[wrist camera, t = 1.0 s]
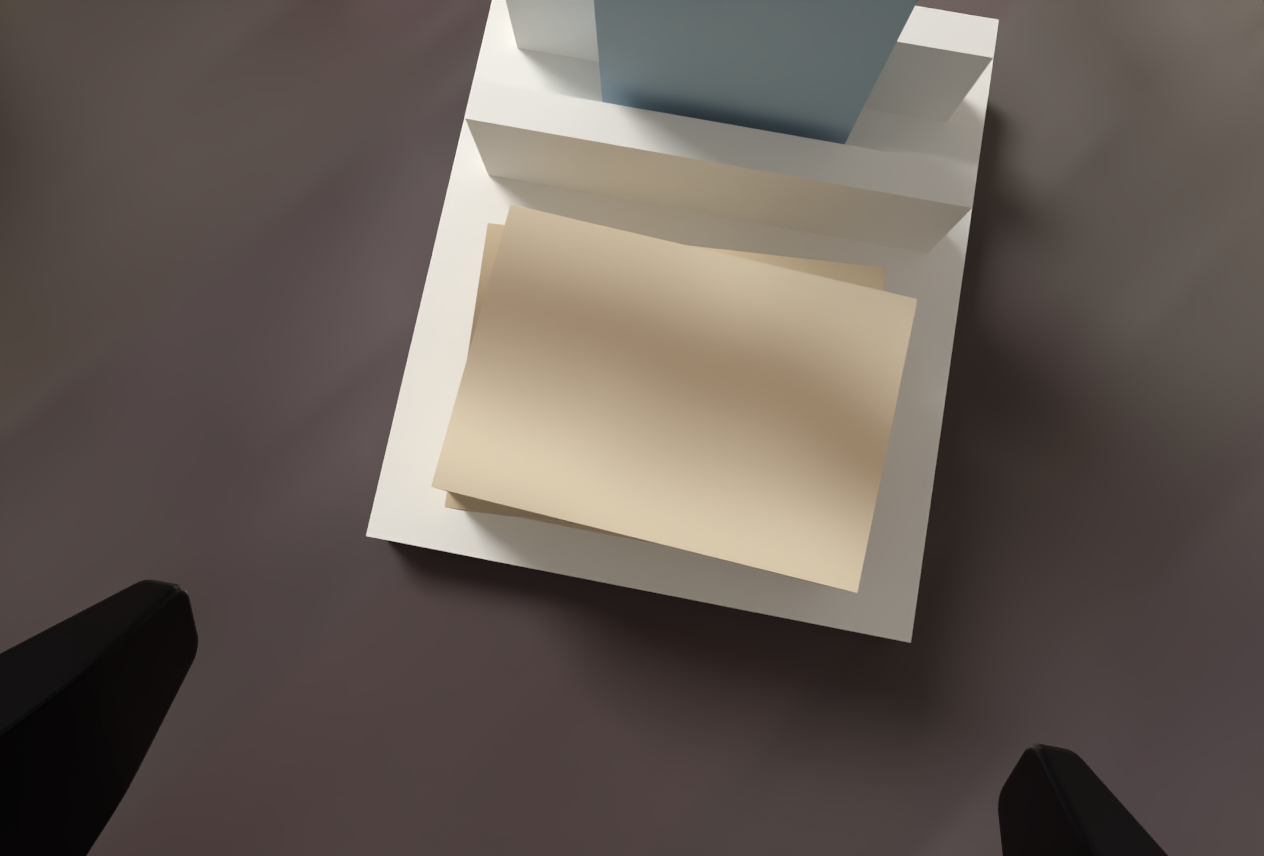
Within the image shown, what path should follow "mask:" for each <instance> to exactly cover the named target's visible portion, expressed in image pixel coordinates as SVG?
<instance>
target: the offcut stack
mask: <svg viewBox="0 0 1264 856" xmlns="http://www.w3.org/2000/svg"><path fill="white" fill-rule="evenodd" d="M885 269H886V268H884V267H875V266H867V265H858V264H849V263H840V262H831V261H822V260H813V259H804V258H795V257H786V256H777V255H768V254H759V253H750V252H742V251H733V250H724V249H715V248H706V247H697V246H688V245H683V244H679V243H675V242H670V241H666V240H662V239H657V238H653V237H649V236H645V235H640V234H636V233H632V232H627V231H623V230H619V229H615V228H610V227H606V226H602V225H597V224H593V223H589V222H584V221H580V220H576V219H572V218H567V217H563V216H559V215H554V214H550V213H546V212H541V211H537V210H533V209H529V208H524V207H520V206H516V205H510V208H509V212H508V215H507V219H506V222H505V225H500V224H492V223H488V225H487V232H486V238H485V245H484V251H483V258H482V264H481V271H480V278H479V284H478V291H477V297H476V304H475V310H474V317H473V324H472V330H471V337H470V343H469V350H468V356H467V361H466V365H465V368H464V372H463V375H462V379H461V382H460V386H459V389H458V393H457V397H456V400H455V404H454V407H453V411H452V414H451V418H450V421H449V425H448V429H447V432H446V436H445V439H444V443H443V446H442V450H441V454H440V457H439V461H438V464H437V468H436V471H435V475H434V478H433V482H432V486H431V487H434V488H437V489H441V490H444V491H447V494H446V501H445V507H446V508H451V509H456V510H462V511H470V512H478V513H487V514H495V515H503V516H511V517H520V518H525V519H530V520H535V521H540V522H546V523H551V524H556V525H561V526H566V527H571V528H576V529H582V530H587V531H592V532H597V533H602V534H607V535H613V536H618V537H623V538H628V539H633V540H638V541H644V542H649V543H654V544H659V545H664V546H668V547H672V548H676V549H680V550H684V551H688V552H692V553H696V554H700V555H704V556H708V557H712V558H716V559H720V560H724V561H728V562H732V563H736V564H740V565H744V566H748V567H752V568H756V569H760V570H764V571H768V572H772V573H776V574H780V575H784V576H788V577H792V578H796V579H800V580H804V581H808V582H812V583H817V584H821V585H825V586H829V587H833V588H837V589H841V590H846V591H850V592H855V593H857V592H858V587H859V582H860V577H861V572H862V568H863V563H864V558H865V553H866V548H867V543H868V538H869V533H870V529H871V524H872V519H873V514H874V509H875V504H876V499H877V495H878V490H879V485H880V480H881V475H882V470H883V465H884V460H885V456H886V451H887V446H888V441H889V436H890V431H891V426H892V421H893V417H894V412H895V407H896V402H897V397H898V392H899V387H900V383H901V378H902V373H903V368H904V363H905V358H906V353H907V348H908V344H909V339H910V334H911V329H912V324H913V319H914V314H915V309H916V305H917V300H918V299H915V298H911V297H907V296H902V295H898V294H894V293H890V292H885V291H884V282H885Z"/></svg>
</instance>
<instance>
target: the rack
mask: <svg viewBox="0 0 1264 856" xmlns="http://www.w3.org/2000/svg"><path fill="white" fill-rule="evenodd" d="M998 21H999V20H997V19H991V18H985V17H979V16H973V15H967V14H961V13H955V12H949V11H943V10H937V9H931V8H925V7H920V6H915V7H914V9H913V11H912V13H911V15H910V16H909V18H908V20H907V22H906V24H905V26H904V28H903V30H902V32H901V34H900V36H899V38H898V40H897V42H896V44H895V46H894V48H893V50H892V52H891V54H890V56H889V58H888V60H887V62H886V64H885V66H884V68H883V70H882V72H881V74H880V76H879V78H878V80H877V81H876V83H875V85H874V87H873V89H872V91H871V93H870V95H869V97H868V99H867V101H866V103H865V105H864V107H863V109H862V111H861V113H860V115H859V117H858V119H857V121H856V123H855V125H854V127H853V129H852V131H851V133H850V135H849V137H848V139H847V141H846V143H845V144H839V143H834V142H828V141H822V140H816V139H811V138H805V137H799V136H794V135H788V134H782V133H776V132H771V131H765V130H759V129H753V128H748V127H742V126H736V125H731V124H725V123H719V122H713V121H708V120H702V119H696V118H690V117H685V116H679V115H673V114H668V113H662V112H656V111H650V110H645V109H639V108H633V107H627V106H622V105H616V104H610V103H605V102H602V91H601V80H600V68H599V56H598V44H597V32H596V21H595V9H594V0H492V3H491V7H490V11H489V16H488V20H487V24H486V28H485V33H484V37H483V41H482V45H481V50H480V54H479V58H478V62H477V67H476V71H475V75H474V79H473V84H472V88H471V92H470V96H469V101H468V105H467V109H466V113H465V118H464V122H463V126H462V130H461V135H460V139H459V143H458V147H457V152H456V156H455V160H454V164H453V168H452V173H451V177H450V181H449V185H448V190H447V194H446V198H445V202H444V207H443V211H442V215H441V219H440V224H439V228H438V232H437V236H436V241H435V245H434V249H433V253H432V258H431V262H430V266H429V270H428V275H427V279H426V283H425V287H424V292H423V296H422V300H421V304H420V309H419V313H418V317H417V321H416V326H415V330H414V334H413V338H412V343H411V347H410V351H409V355H408V360H407V364H406V368H405V372H404V377H403V381H402V385H401V389H400V394H399V398H398V402H397V406H396V411H395V415H394V419H393V423H392V428H391V432H390V436H389V440H388V445H387V449H386V453H385V457H384V462H383V466H382V470H381V474H380V479H379V483H378V487H377V491H376V495H375V500H374V504H373V508H372V512H371V517H370V521H369V525H368V529H367V534H366V536H369V537H374V538H379V539H384V540H389V541H394V542H399V543H404V544H409V545H415V546H420V547H425V548H430V549H435V550H440V551H445V552H450V553H455V554H460V555H466V556H471V557H476V558H481V559H486V560H491V561H496V562H501V563H506V564H511V565H517V566H522V567H527V568H532V569H537V570H542V571H547V572H552V573H557V574H562V575H567V576H573V577H578V578H583V579H588V580H593V581H598V582H603V583H608V584H613V585H618V586H624V587H629V588H634V589H639V590H644V591H649V592H654V593H659V594H664V595H669V596H675V597H680V598H685V599H690V600H695V601H700V602H705V603H710V604H715V605H720V606H726V607H731V608H736V609H741V610H746V611H751V612H756V613H761V614H766V615H771V616H777V617H782V618H787V619H792V620H797V621H802V622H807V623H812V624H817V625H822V626H828V627H833V628H838V629H843V630H848V631H853V632H858V633H863V634H868V635H873V636H879V637H884V638H889V639H894V640H899V641H904V642H909V643H911V638H912V631H913V624H914V617H915V610H916V603H917V596H918V589H919V582H920V575H921V567H922V560H923V553H924V546H925V539H926V532H927V525H928V518H929V511H930V504H931V497H932V490H933V482H934V475H935V468H936V461H937V454H938V447H939V440H940V433H941V426H942V419H943V412H944V405H945V397H946V390H947V383H948V376H949V369H950V362H951V355H952V348H953V341H954V334H955V327H956V320H957V313H958V305H959V298H960V291H961V284H962V277H963V270H964V263H965V256H966V249H967V242H968V235H969V228H970V220H971V213H972V206H973V199H974V192H975V185H976V178H977V171H978V164H979V157H980V150H981V143H982V135H983V128H984V121H985V114H986V107H987V100H988V93H989V86H990V79H991V72H992V65H993V57H994V50H995V43H996V36H997V29H998ZM510 205H516V206H520V207H524V208H529V209H533V210H537V211H541V212H546V213H550V214H554V215H559V216H563V217H567V218H572V219H576V220H580V221H584V222H589V223H593V224H597V225H602V226H606V227H610V228H615V229H619V230H623V231H627V232H632V233H636V234H640V235H645V236H649V237H653V238H657V239H662V240H666V241H670V242H675V243H679V244H683V245H688V246H697V247H706V248H715V249H724V250H733V251H742V252H750V253H759V254H768V255H777V256H786V257H795V258H804V259H813V260H822V261H831V262H840V263H849V264H858V265H867V266H875V267H884V268H886V269H885V282H884V291H885V292H890V293H894V294H898V295H902V296H907V297H911V298H915V299H918V300H917V305H916V309H915V314H914V319H913V324H912V329H911V334H910V339H909V344H908V348H907V353H906V358H905V363H904V368H903V373H902V378H901V383H900V387H899V392H898V397H897V402H896V407H895V412H894V417H893V421H892V426H891V431H890V436H889V441H888V446H887V451H886V456H885V460H884V465H883V470H882V475H881V480H880V485H879V490H878V495H877V499H876V504H875V509H874V514H873V519H872V524H871V529H870V533H869V538H868V543H867V548H866V553H865V558H864V563H863V568H862V572H861V577H860V582H859V587H858V592H857V593H855V592H850V591H846V590H841V589H837V588H833V587H829V586H825V585H821V584H817V583H812V582H808V581H804V580H800V579H796V578H792V577H788V576H784V575H780V574H776V573H772V572H768V571H764V570H760V569H756V568H752V567H748V566H744V565H740V564H736V563H732V562H728V561H724V560H720V559H716V558H712V557H708V556H704V555H700V554H696V553H692V552H688V551H684V550H680V549H676V548H672V547H668V546H664V545H659V544H654V543H649V542H644V541H638V540H633V539H628V538H623V537H618V536H613V535H607V534H602V533H597V532H592V531H587V530H582V529H576V528H571V527H566V526H561V525H556V524H551V523H546V522H540V521H535V520H530V519H525V518H520V517H511V516H503V515H495V514H487V513H478V512H470V511H462V510H456V509H451V508H446V507H445V501H446V494H447V491H444V490H441V489H437V488H434V487H431V486H432V482H433V478H434V475H435V471H436V468H437V464H438V461H439V457H440V454H441V450H442V446H443V443H444V439H445V436H446V432H447V429H448V425H449V421H450V418H451V414H452V411H453V407H454V404H455V400H456V397H457V393H458V389H459V386H460V382H461V379H462V375H463V372H464V368H465V365H466V361H467V356H468V350H469V343H470V337H471V330H472V324H473V317H474V310H475V304H476V297H477V291H478V284H479V278H480V271H481V264H482V258H483V251H484V245H485V238H486V232H487V225H488V223H492V224H500V225H505V222H506V219H507V215H508V212H509V208H510Z"/></svg>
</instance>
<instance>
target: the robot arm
mask: <svg viewBox="0 0 1264 856" xmlns="http://www.w3.org/2000/svg"><path fill="white" fill-rule="evenodd" d="M197 647H198V635H197V631H196V626H195V622H194V617H193V613H192V608H191V603H190V599H189V595H188V592H187V591H186V590H185V588H184V587H183V586H180V585H178V584H172V583H167V582H162V581H156V580H144V581H140V582H138V583H135V584H133V585H131V586H129V587H128V588H126V589H124V590H122V591H120V592H118V593H116V594H114V595H112V596H110V597H108V598H106V599H104V600H103V601H101V602H99V603H97V604H95V605H93V606H91V607H89V608H87V609H85V610H83V611H81V612H79V613H78V614H76V615H74V616H72V617H70V618H68V619H66V620H64V621H62V622H60V623H58V624H56V625H54V626H53V627H51V628H49V629H47V630H45V631H43V632H41V633H39V634H37V635H35V636H33V637H31V638H29V639H28V640H26V641H24V642H22V643H20V644H18V645H16V646H14V647H12V648H10V649H8V650H6V651H4V652H3V653H1V654H0V856H86V855H87V854H88V852H89V851H90V849H91V848H92V846H93V845H94V843H95V841H96V840H97V838H98V837H99V835H100V834H101V832H102V830H103V829H104V827H105V826H106V824H107V823H108V821H109V819H110V818H111V816H112V815H113V813H114V811H115V810H116V808H117V807H118V805H119V803H120V802H121V800H122V798H123V797H124V795H125V793H126V792H127V790H128V788H129V786H130V784H131V782H132V781H133V779H134V777H135V775H136V773H137V771H138V769H139V767H140V765H141V764H142V762H143V760H144V758H145V756H146V754H147V752H148V750H149V748H150V746H151V744H152V742H153V740H154V738H155V736H156V734H157V732H158V730H159V728H160V726H161V724H162V722H163V720H164V718H165V716H166V714H167V712H168V710H169V708H170V706H171V704H172V702H173V700H174V698H175V696H176V694H177V692H178V690H179V688H180V686H181V685H182V683H183V681H184V679H185V677H186V675H187V673H188V671H189V669H190V667H191V665H192V663H193V660H194V658H195V655H196V652H197ZM998 815H999V824H1000V833H1001V843H1002V852H1003V856H1168V855H1167V854H1166V853H1165V852H1164V851H1163V850H1162V848H1161V847H1160V846H1159V845H1158V844H1157V843H1156V842H1155V841H1154V839H1153V838H1152V837H1151V836H1150V835H1149V834H1148V833H1147V832H1146V830H1145V829H1144V828H1143V827H1142V826H1141V825H1140V824H1139V823H1138V821H1137V820H1136V819H1135V818H1134V817H1133V816H1132V815H1131V814H1130V812H1129V811H1128V810H1127V809H1126V808H1125V807H1124V806H1123V805H1122V803H1121V802H1120V801H1119V800H1118V799H1117V798H1116V797H1115V796H1114V794H1113V793H1112V792H1111V791H1110V790H1109V789H1108V788H1107V787H1106V785H1105V784H1104V783H1103V782H1102V781H1101V780H1100V779H1099V778H1098V776H1097V775H1096V774H1095V773H1094V772H1093V771H1092V770H1091V769H1090V767H1089V766H1088V765H1087V764H1086V763H1085V762H1084V761H1083V760H1082V759H1081V758H1080V757H1079V756H1078V755H1077V754H1076V753H1074V752H1073V751H1071V750H1068V749H1064V748H1059V747H1053V746H1048V745H1042V744H1033V745H1031V746H1029V747H1028V748H1027V749H1026V750H1025V751H1024V753H1023V755H1022V756H1021V758H1020V760H1019V761H1018V763H1017V764H1016V766H1015V768H1014V769H1013V771H1012V773H1011V774H1010V776H1009V778H1008V779H1007V781H1006V782H1005V784H1004V786H1003V788H1002V790H1001V793H1000V796H999V802H998Z"/></svg>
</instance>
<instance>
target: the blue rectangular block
mask: <svg viewBox="0 0 1264 856" xmlns="http://www.w3.org/2000/svg"><path fill="white" fill-rule="evenodd" d="M917 1H918V0H594V9H595V21H596V32H597V44H598V56H599V68H600V80H601V91H602V102H605V103H610V104H616V105H622V106H627V107H633V108H639V109H645V110H650V111H656V112H662V113H668V114H673V115H679V116H685V117H690V118H696V119H702V120H708V121H713V122H719V123H725V124H731V125H736V126H742V127H748V128H753V129H759V130H765V131H771V132H776V133H782V134H788V135H794V136H799V137H805V138H811V139H816V140H822V141H828V142H834V143H839V144H845V143H846V141H847V139H848V137H849V135H850V133H851V131H852V129H853V127H854V125H855V123H856V121H857V119H858V117H859V115H860V113H861V111H862V109H863V107H864V105H865V103H866V101H867V99H868V97H869V95H870V93H871V91H872V89H873V87H874V85H875V83H876V81H877V80H878V78H879V76H880V74H881V72H882V70H883V68H884V66H885V64H886V62H887V60H888V58H889V56H890V54H891V52H892V50H893V48H894V46H895V44H896V42H897V40H898V38H899V36H900V34H901V32H902V30H903V28H904V26H905V24H906V22H907V20H908V18H909V16H910V15H911V13H912V11H913V9H914V7H915V5H916V3H917Z"/></svg>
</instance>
